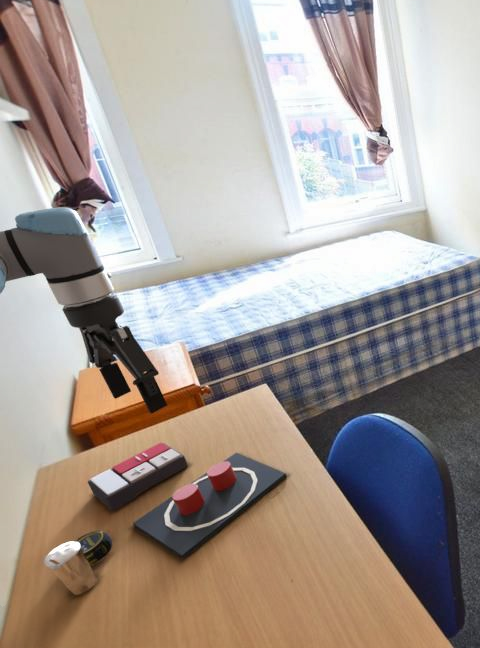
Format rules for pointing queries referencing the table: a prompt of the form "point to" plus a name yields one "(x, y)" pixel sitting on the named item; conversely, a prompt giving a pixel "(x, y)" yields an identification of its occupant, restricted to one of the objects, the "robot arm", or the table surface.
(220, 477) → the red short cylinder
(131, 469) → the calculator
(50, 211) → the robot arm
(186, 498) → the red cylinder block
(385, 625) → the table surface
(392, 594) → the table surface
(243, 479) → the face mat
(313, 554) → the table surface
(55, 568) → the milkshake
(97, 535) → the tape measure
